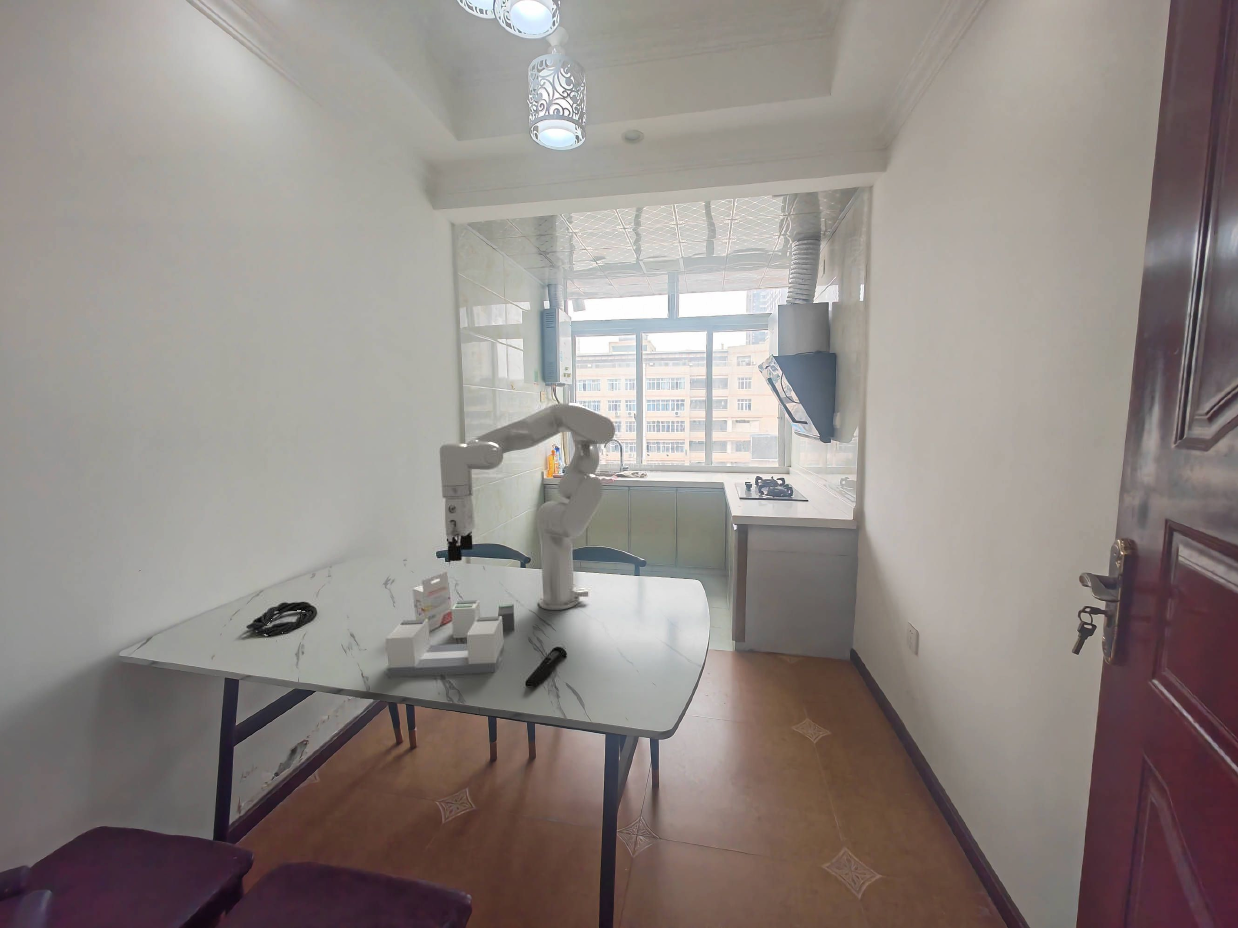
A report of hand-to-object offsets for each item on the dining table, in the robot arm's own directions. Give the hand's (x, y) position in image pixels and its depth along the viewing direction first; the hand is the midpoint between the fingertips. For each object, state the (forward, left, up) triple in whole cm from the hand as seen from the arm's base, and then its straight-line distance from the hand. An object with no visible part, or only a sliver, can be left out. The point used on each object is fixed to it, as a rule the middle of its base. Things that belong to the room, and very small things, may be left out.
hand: (461, 554), depth 122 cm
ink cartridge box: (+11, -6, -22) cm, 25 cm away
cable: (+55, -12, -22) cm, 60 cm away
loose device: (-10, -3, -22) cm, 24 cm away
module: (0, 0, -22) cm, 22 cm away
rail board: (0, +15, -22) cm, 26 cm away
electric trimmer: (-24, +20, -22) cm, 39 cm away
